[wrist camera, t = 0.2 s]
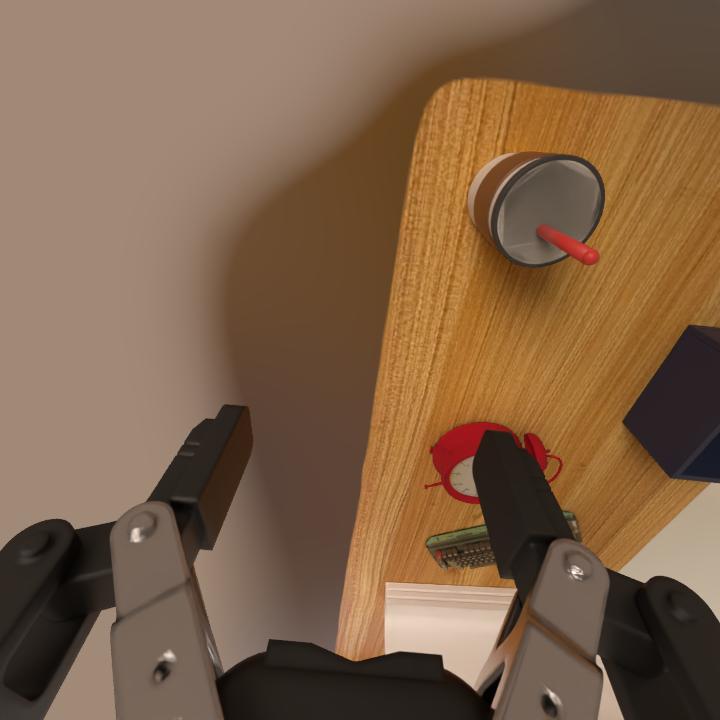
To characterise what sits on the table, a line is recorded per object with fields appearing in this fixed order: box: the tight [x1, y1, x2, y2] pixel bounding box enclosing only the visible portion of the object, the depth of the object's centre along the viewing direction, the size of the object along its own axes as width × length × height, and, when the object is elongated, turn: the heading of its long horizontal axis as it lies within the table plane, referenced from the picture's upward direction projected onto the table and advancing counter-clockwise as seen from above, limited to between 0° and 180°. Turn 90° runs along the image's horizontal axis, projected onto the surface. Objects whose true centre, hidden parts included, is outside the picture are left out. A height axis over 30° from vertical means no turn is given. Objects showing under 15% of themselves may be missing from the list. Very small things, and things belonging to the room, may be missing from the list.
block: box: [384, 582, 624, 720], centre depth 50 cm, size 35×8×28 cm, turn 91°
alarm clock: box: [425, 422, 562, 504], centre depth 40 cm, size 10×6×15 cm
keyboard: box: [426, 511, 583, 570], centre depth 51 cm, size 22×9×2 cm, turn 117°
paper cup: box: [467, 152, 605, 268], centre depth 21 cm, size 6×6×14 cm
